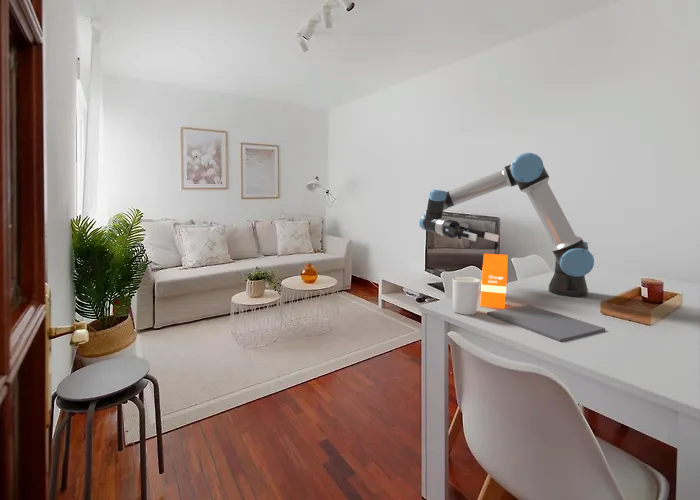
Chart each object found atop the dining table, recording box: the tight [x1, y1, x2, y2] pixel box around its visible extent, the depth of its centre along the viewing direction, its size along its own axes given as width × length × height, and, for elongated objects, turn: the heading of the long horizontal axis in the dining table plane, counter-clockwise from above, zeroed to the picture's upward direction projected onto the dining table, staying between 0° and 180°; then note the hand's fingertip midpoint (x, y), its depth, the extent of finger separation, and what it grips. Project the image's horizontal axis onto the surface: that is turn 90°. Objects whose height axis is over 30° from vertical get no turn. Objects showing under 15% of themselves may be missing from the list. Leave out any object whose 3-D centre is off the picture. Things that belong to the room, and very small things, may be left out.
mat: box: [486, 304, 606, 343], centre depth 128 cm, size 22×28×1 cm
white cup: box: [451, 276, 482, 316], centre depth 138 cm, size 10×10×12 cm
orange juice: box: [479, 253, 509, 310], centre depth 146 cm, size 8×9×20 cm
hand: (487, 238), depth 150 cm, fingers open, 13 cm apart
